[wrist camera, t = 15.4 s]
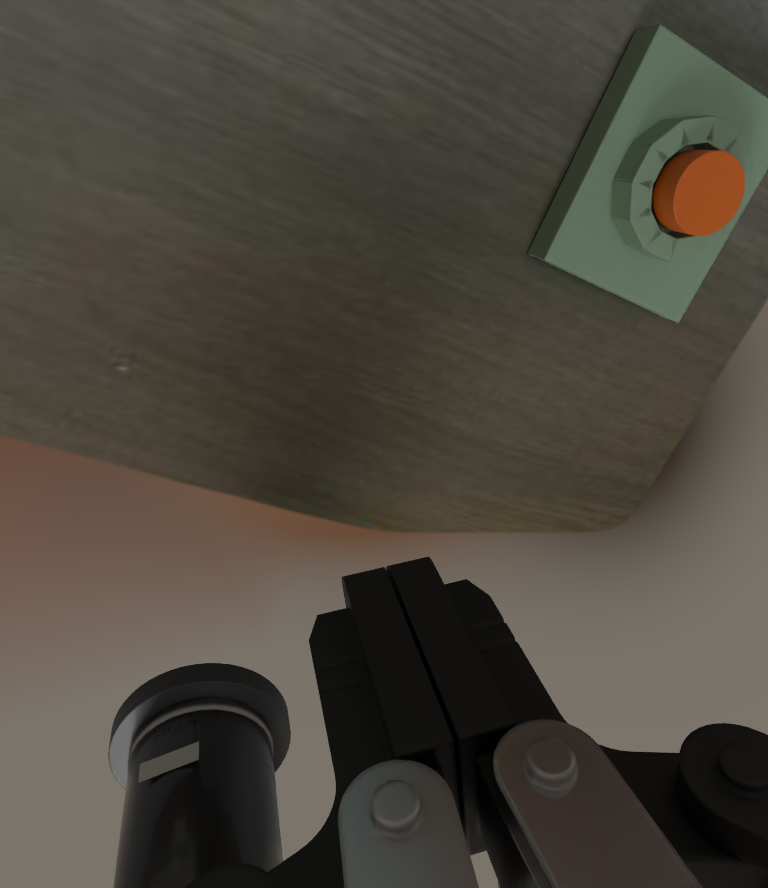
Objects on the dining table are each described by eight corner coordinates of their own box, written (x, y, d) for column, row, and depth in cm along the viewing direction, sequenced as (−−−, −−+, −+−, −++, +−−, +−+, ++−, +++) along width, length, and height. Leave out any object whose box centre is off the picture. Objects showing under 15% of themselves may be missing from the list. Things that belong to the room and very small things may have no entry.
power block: (656, 314, 41) (698, 332, 38) (526, 253, 38) (559, 266, 34) (767, 118, 38) (825, 117, 34) (635, 29, 34) (684, 18, 30)
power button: (694, 243, 36) (715, 248, 34) (638, 213, 34) (658, 217, 33) (735, 169, 34) (760, 171, 33) (679, 135, 33) (702, 135, 32)
